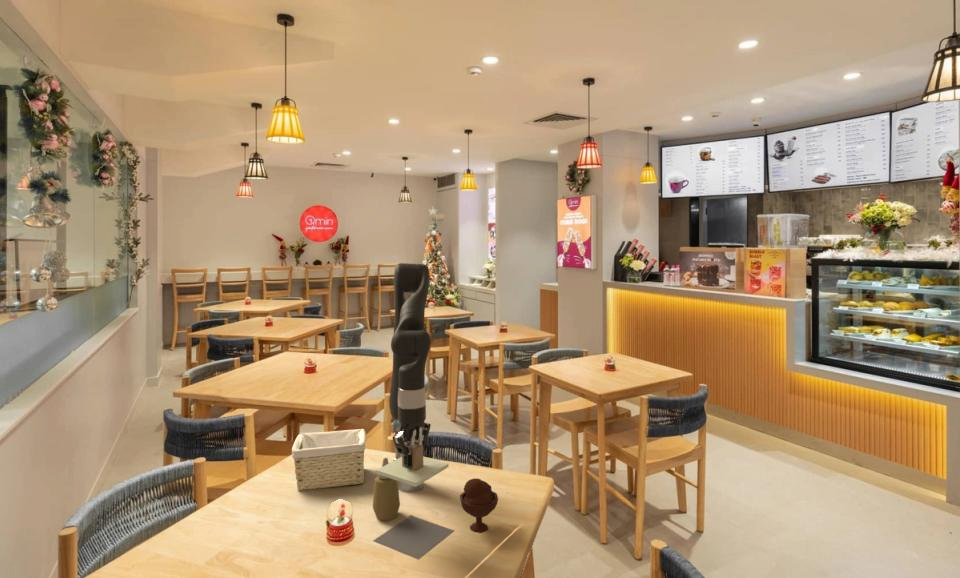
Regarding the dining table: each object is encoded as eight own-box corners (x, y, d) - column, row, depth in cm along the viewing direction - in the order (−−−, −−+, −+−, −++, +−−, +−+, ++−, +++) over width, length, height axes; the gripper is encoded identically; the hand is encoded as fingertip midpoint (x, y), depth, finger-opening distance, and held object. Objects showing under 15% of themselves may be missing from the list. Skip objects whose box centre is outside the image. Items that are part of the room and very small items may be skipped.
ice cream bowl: (495, 541, 142) (494, 488, 141) (455, 537, 144) (454, 484, 143) (501, 521, 152) (501, 471, 151) (464, 517, 154) (463, 468, 153)
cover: (376, 473, 140) (375, 448, 140) (409, 455, 152) (409, 432, 152) (416, 486, 133) (415, 460, 132) (448, 467, 145) (448, 442, 144)
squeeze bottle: (405, 512, 157) (404, 455, 156) (392, 526, 150) (390, 465, 148) (381, 508, 160) (380, 451, 159) (367, 521, 152) (366, 462, 151)
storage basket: (291, 493, 170) (290, 449, 169) (298, 472, 186) (297, 432, 185) (366, 486, 175) (365, 443, 174) (366, 466, 191) (366, 427, 190)
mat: (372, 542, 142) (372, 540, 142) (410, 516, 155) (410, 515, 155) (418, 560, 133) (418, 559, 133) (454, 532, 147) (454, 530, 146)
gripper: (417, 394, 149) (418, 453, 150) (383, 407, 137) (384, 470, 139) (438, 399, 145) (439, 458, 146) (405, 412, 133) (406, 477, 135)
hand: (412, 464), depth 142 cm, fingers closed on cover, 3 cm apart
